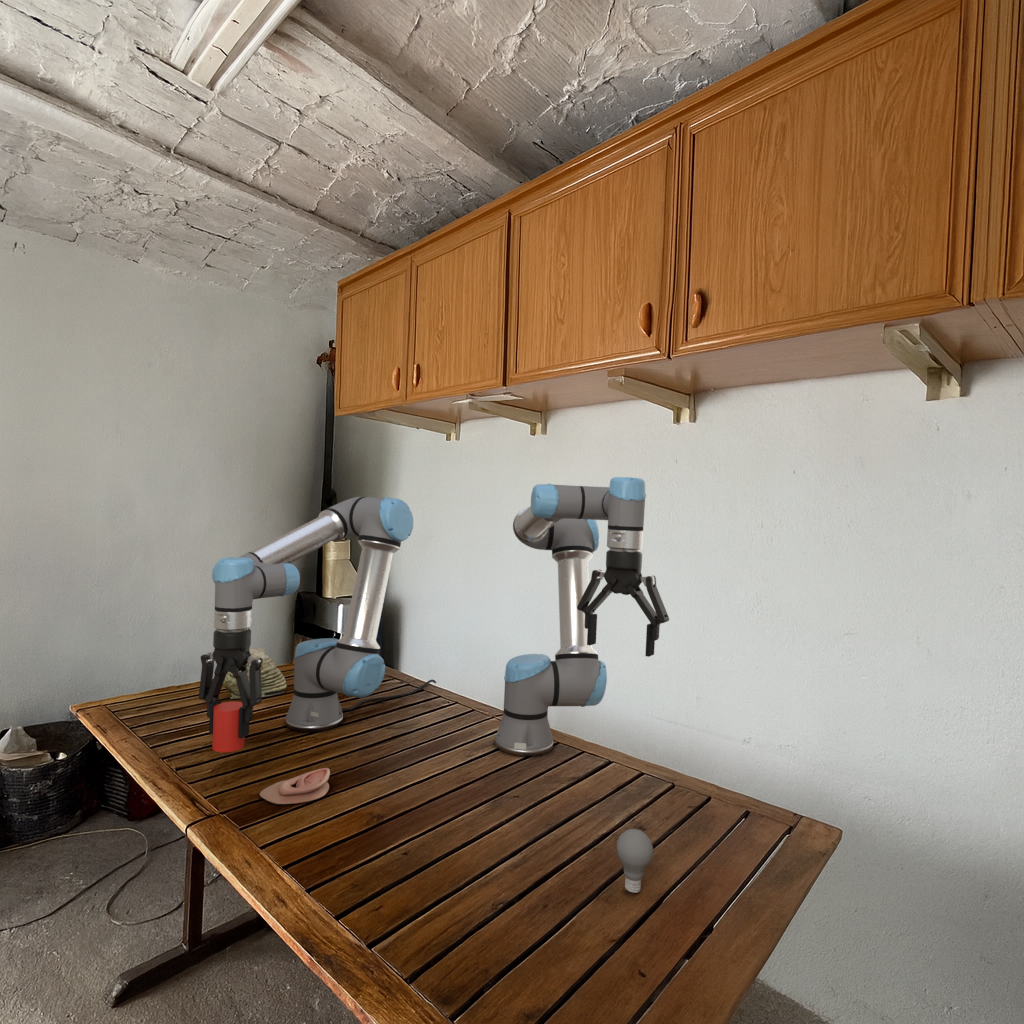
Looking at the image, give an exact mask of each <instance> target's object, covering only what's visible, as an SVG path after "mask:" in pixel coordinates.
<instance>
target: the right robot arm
mask: <svg viewBox="0 0 1024 1024" xmlns="http://www.w3.org/2000/svg"><path fill="white" fill-rule="evenodd" d="M646 497H647V493H646V482H645V480H644V479H643V478H641V477H631V476H630V477H629V476H615V477H612V478H611V479H610V481H609V486H608V487H607V486H593V485H592V486H590V485H589V486H588V485H569V484H552V483H542V484H540V483H539V484H535V485H534V486H533V487H532V491H531V495H530V506H529V507H525V508H522V509H521V510H520V511H519V512H517V513H516V515H515V517H514V519H513V522H512V530H513V534H514V535H515V537H516V538H517V540H519V542H520V543H522V544H523V545H525V546H527V547H528V548H531V549H535V550H539V551H551V558H552V559H553V560H554V561H555V562H556V563H557V580H558V582H557V584H558V585H557V586H558V614H559V645H560V648H559V649H558V650H557V652H556V653H555V654H554V660H551V658H550V656H549V655H547V654H544V653H539V654H538V653H525V654H520V655H517V656H514V657H512V658H510V659H509V660H508V661H507V663H506V665H505V671H504V693H503V714H502V717H501V720H500V723H499V726H498V728H497V731H496V734H495V740H494V744H495V747H496V748H497V749H498V750H500V751H501V752H504V753H506V754H509V755H513V756H519V757H535V756H536V757H537V756H542V755H546V754H548V753H550V752H551V751H552V750H553V748H554V736H553V734H552V729H551V726H550V725H551V724H550V722H549V717H548V716H549V715H548V712H549V710H548V709H549V707H581V708H585V707H594V706H597V705H599V704H600V703H601V702H602V701H603V699H604V696H605V693H606V690H607V682H608V681H607V680H608V670H607V665H606V663H605V662H604V661H602V660H599V653H598V652H597V651H596V649H594V648H593V645H596V644H597V629H598V627H597V626H598V613H596V612H595V611H596V610H597V609H598V608H599V607H600V606H601V605H602V604H603V602H605V601H606V599H608V597H610V595H611V594H612V593H613V594H617V595H618V594H622V595H625V596H629V595H630V596H631V598H632V599H634V600H635V602H636V603H637V605H638V606H639V607H640V610H641V611H642V612H643V614H644V615H645V617H646V618H647V620H648V622H649V623H647V624H646V633H645V634H646V635H645V655H644V656H645V657H649V658H650V657H652V656H654V655H655V644H656V643H655V642H656V641H658V640H659V638H660V629H661V628H660V626H661V624H665V623H667V622H669V621H670V617H669V614H668V612H667V609H666V607H665V604H664V602H663V599H662V597H661V594H660V592H659V589H658V587H657V577H656V576H655V575H654V574H652V575H647V576H643V575H642V568H643V553H642V552H641V550H642V549H644V525H645V509H646ZM597 521H607V532H606V533H607V536H606V547H607V548H608V550H607V551H606V552H605V571H602V569H594V570H592V571H591V577H590V576H589V575H590V574H589V562H590V560H592V558H593V557H594V552H596V551H597V550H598V548H599V544H600V541H599V540H600V531H599V530H600V529H599V525H598V522H597ZM603 580H605V582H606V584H605V585H604V586H603V588H602V589H601V590H600V592H599V593H598V594H597V595H596V596H595V597H594V595H595V594H596V591H597V590H598V588H599V585H600V583H601V581H603ZM642 583H643V585H644V586H645V587H646V591H647V594H648V596H649V598H650V601H651V603H650V602H649V601H648V599H647V597H646V595H644V591H643V589H642V588H641V587H640V585H641V584H642ZM593 597H594V598H593ZM592 599H593V600H592ZM651 604H652V605H651Z"/></svg>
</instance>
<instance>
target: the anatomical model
mask: <svg viewBox="0 0 1024 1024" xmlns="http://www.w3.org/2000/svg"><path fill="white" fill-rule="evenodd" d="M330 776H331V770H330V768H329V767H323V768H319V769H314V770H312V771H308V772H305V773H303V774H300V775H297V776H294V777H292V778H289V779H284V780H281V781H280V780H279V781H277V782H275V783H273V784H270V785H269V786H266V787H265V788H263V789H262V790H261V791H259V797H261V799H264V800H265V801H267V802H269V803H271V804H275V805H292V804H300V803H306V802H310V801H314V800H318V799H320V798H322V797H324V796H325V795H326V794H327V793H328V792H329V790H330V784H329V782H328V780H329V778H330Z"/></svg>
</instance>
